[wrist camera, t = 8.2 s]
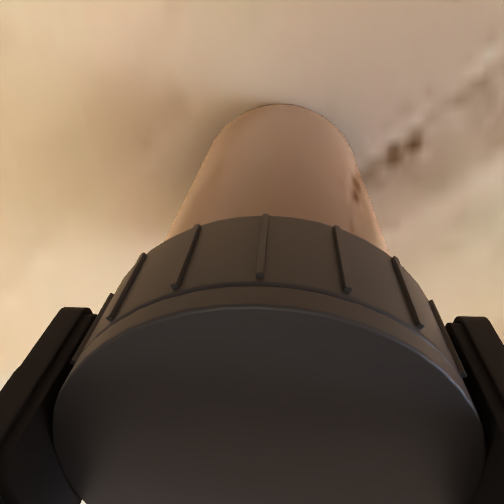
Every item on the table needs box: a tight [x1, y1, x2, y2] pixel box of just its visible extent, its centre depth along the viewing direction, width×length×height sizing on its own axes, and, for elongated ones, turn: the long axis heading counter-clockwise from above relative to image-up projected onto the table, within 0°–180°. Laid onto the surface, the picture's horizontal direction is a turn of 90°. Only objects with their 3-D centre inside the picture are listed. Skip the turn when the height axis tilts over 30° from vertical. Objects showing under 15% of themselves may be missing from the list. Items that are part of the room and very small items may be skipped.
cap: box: [52, 214, 486, 504], centre depth 9 cm, size 8×8×3 cm
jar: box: [164, 104, 390, 256], centre depth 14 cm, size 7×7×13 cm
